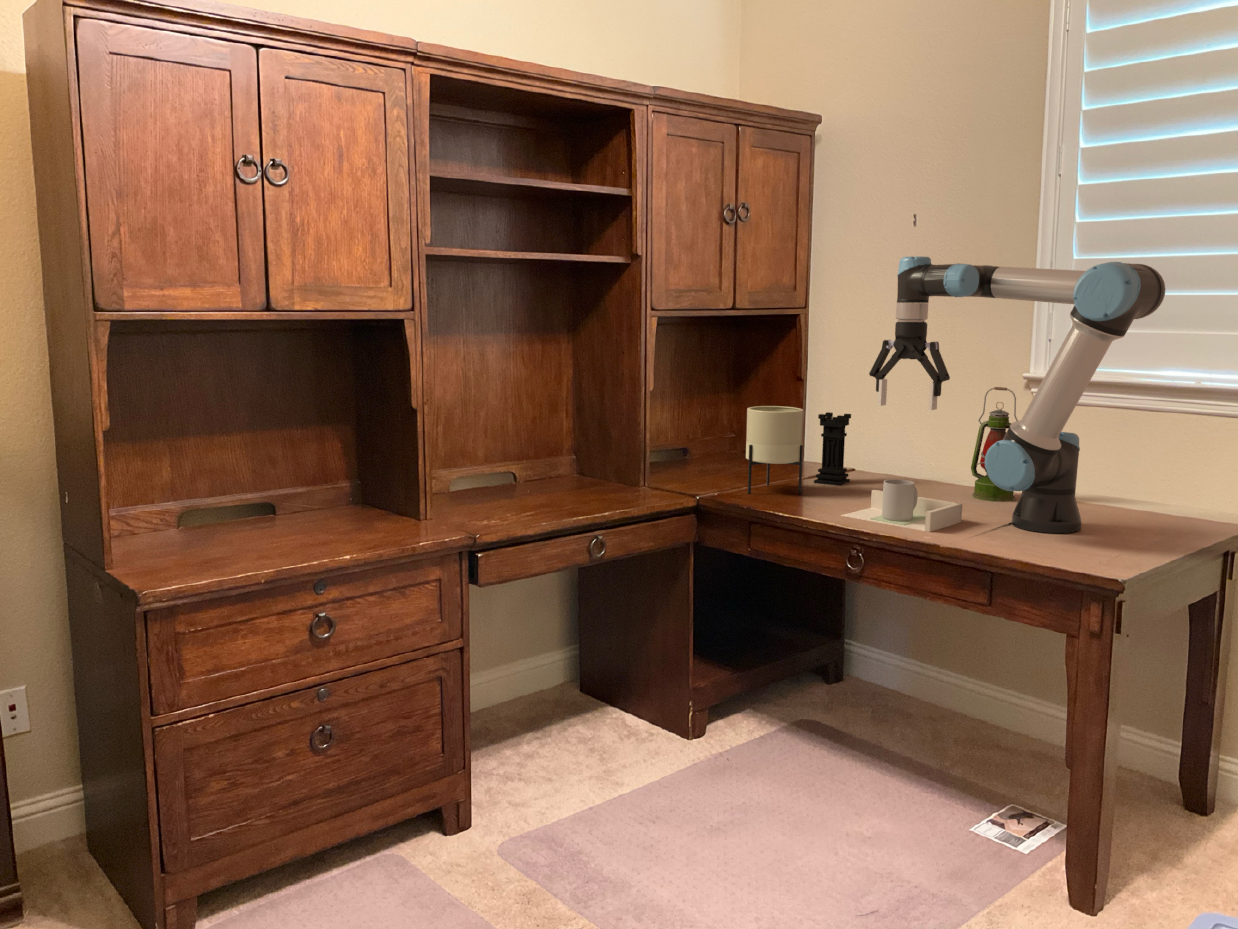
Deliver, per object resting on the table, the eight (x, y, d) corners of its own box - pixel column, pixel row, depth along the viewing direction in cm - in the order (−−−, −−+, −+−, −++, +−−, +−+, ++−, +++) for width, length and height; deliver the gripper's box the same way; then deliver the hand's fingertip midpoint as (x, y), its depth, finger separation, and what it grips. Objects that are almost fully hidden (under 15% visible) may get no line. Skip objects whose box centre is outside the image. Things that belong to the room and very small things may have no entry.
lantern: (1027, 498, 276) (1035, 387, 271) (1010, 504, 268) (1018, 390, 264) (977, 491, 286) (984, 384, 281) (960, 496, 278) (967, 386, 273)
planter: (791, 498, 273) (794, 413, 270) (736, 492, 281) (738, 409, 277) (810, 489, 286) (813, 408, 283) (757, 484, 294) (759, 404, 291)
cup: (875, 517, 247) (877, 481, 246) (903, 512, 253) (905, 477, 251) (898, 523, 241) (900, 485, 240) (927, 518, 247) (929, 482, 245)
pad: (929, 518, 248) (929, 516, 248) (903, 525, 240) (903, 524, 240) (896, 512, 255) (896, 511, 254) (870, 519, 246) (870, 518, 246)
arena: (961, 524, 244) (962, 503, 243) (929, 533, 234) (930, 512, 233) (873, 508, 261) (874, 489, 260) (840, 517, 251) (840, 497, 250)
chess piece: (849, 481, 300) (853, 413, 296) (840, 485, 293) (843, 416, 290) (824, 478, 304) (826, 412, 300) (813, 482, 297) (816, 414, 294)
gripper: (967, 321, 244) (961, 410, 247) (873, 319, 261) (869, 402, 264) (953, 322, 239) (948, 412, 242) (858, 319, 255) (854, 404, 259)
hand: (906, 407), depth 253 cm, fingers open, 13 cm apart
